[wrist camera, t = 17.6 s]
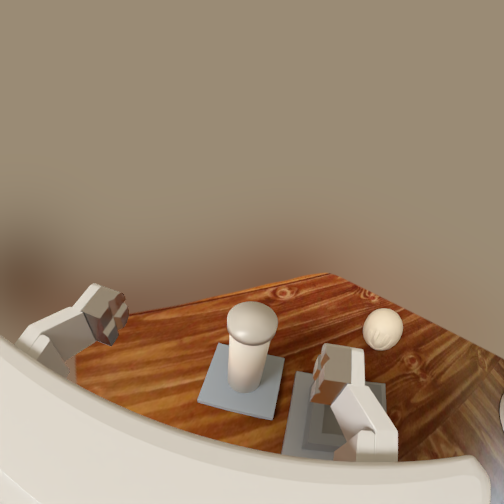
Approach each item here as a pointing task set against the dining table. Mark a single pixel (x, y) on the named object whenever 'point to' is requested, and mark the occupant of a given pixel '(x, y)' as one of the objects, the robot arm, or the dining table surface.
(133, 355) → the dining table surface
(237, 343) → the plug
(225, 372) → the mat
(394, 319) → the cream rounded ball
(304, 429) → the socket collar
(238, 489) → the robot arm
